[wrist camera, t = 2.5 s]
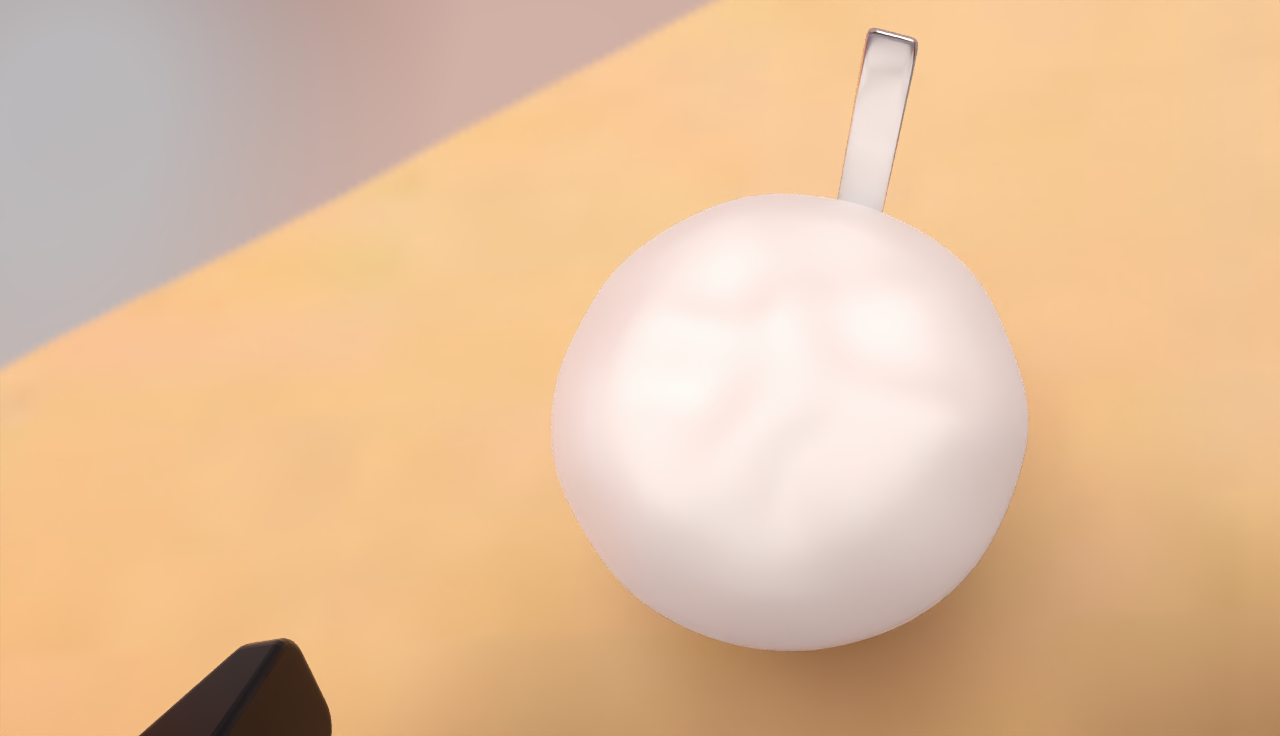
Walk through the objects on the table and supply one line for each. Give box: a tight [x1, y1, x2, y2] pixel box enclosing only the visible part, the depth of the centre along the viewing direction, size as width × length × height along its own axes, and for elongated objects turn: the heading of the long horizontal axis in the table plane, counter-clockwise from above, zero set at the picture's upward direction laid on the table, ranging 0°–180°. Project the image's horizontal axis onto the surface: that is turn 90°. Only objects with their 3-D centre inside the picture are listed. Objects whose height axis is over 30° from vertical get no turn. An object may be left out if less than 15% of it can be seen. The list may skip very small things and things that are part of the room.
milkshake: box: [551, 28, 1028, 651], centre depth 14 cm, size 4×5×10 cm
